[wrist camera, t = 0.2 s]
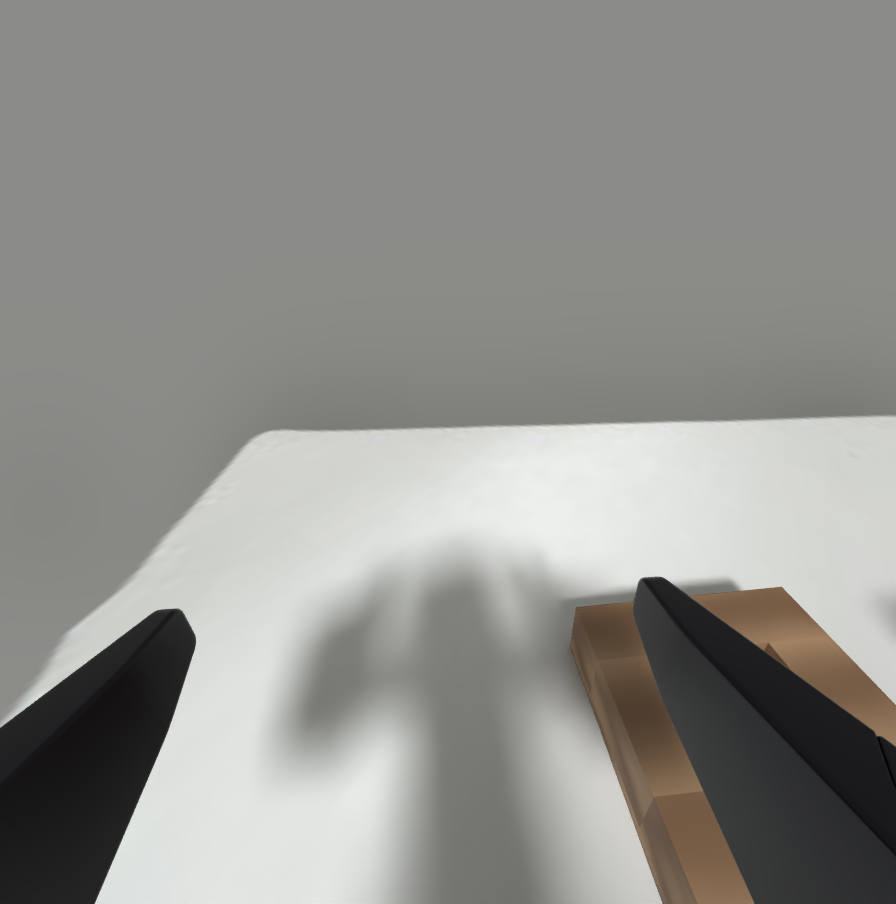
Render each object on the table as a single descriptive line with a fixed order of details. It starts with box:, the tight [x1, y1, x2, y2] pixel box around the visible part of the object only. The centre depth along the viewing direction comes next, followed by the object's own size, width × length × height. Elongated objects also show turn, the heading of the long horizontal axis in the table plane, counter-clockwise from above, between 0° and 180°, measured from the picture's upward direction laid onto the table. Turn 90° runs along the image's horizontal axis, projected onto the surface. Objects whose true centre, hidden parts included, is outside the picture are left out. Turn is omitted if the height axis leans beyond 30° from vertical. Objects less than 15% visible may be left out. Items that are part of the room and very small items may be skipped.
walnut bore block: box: [570, 587, 896, 904], centre depth 20 cm, size 12×12×4 cm
